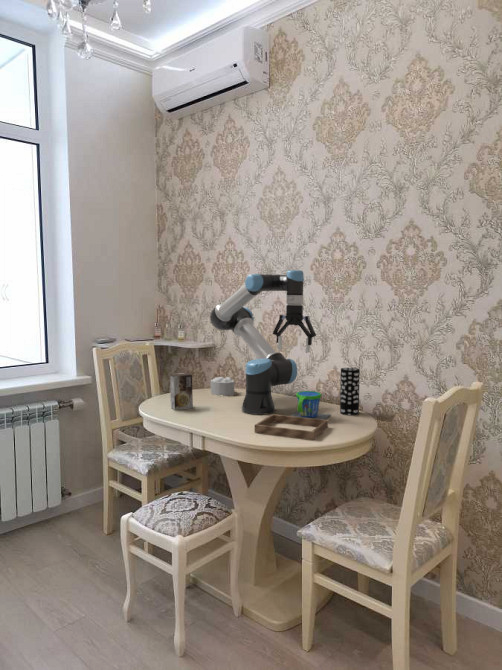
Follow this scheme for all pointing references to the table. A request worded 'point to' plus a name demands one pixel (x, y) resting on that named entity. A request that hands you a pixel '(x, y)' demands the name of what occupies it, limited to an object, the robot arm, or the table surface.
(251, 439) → the table surface
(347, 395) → the spotted tube
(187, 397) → the coffee box
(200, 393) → the table surface
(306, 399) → the snack cup
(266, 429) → the wooden frame
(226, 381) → the lumpy-topped squat cylinder
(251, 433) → the table surface
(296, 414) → the slate mat
